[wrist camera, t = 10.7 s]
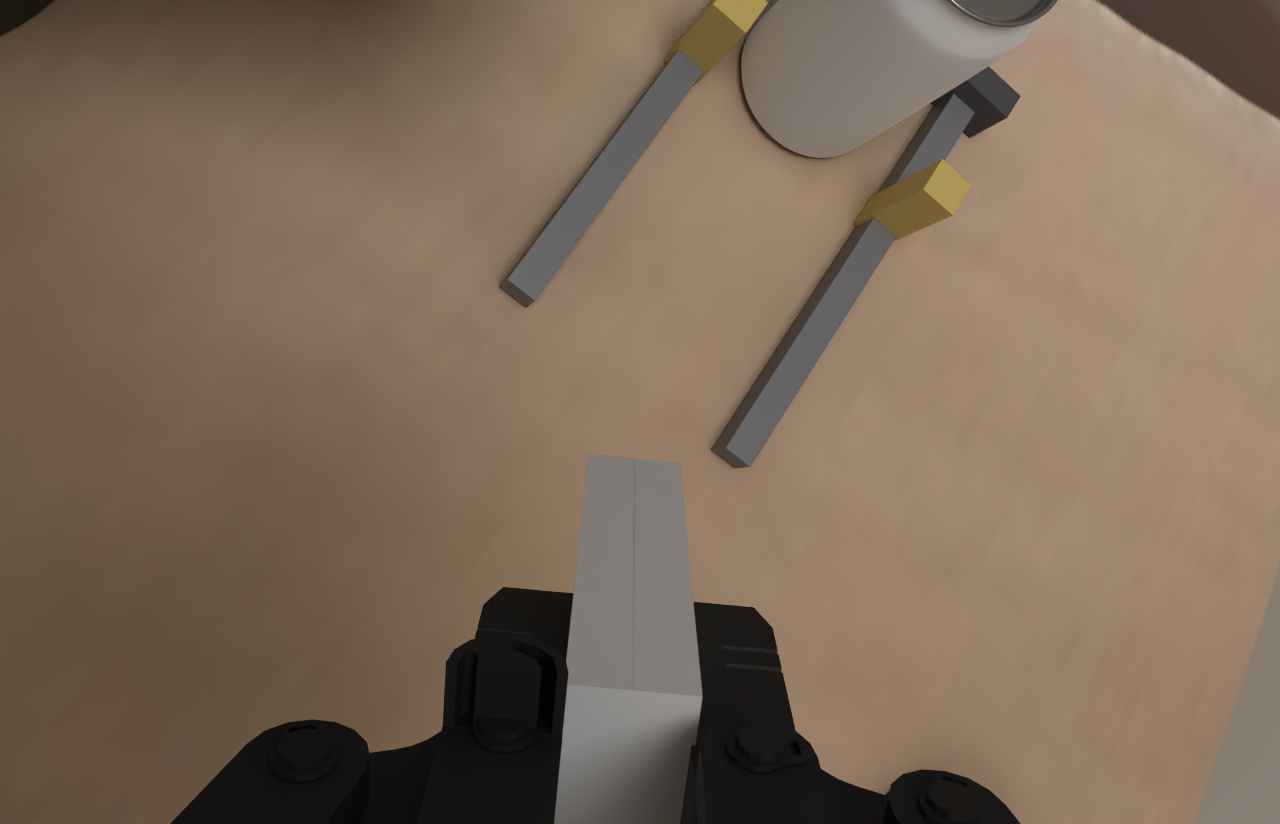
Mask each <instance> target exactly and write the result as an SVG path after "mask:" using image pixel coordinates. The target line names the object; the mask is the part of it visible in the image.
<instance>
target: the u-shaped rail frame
mask: <svg viewBox="0 0 1280 824" xmlns="http://www.w3.org/2000/svg"><path fill="white" fill-rule="evenodd" d="M767 4H768V2H767V1H766V0H713V1H712V2H711V3H710V4H709V5H708V6H707V8H706V9H705V10H704V11H703V12H702V13H701V15H700V16H699V17H698V18H697V19H696V20H695V22H694V23H693V24H692V25H691V26H690V27H689V28H688V30H687V31H686V32H685V33H684V34H683V36H682V37H681V38H680V40H679V41H678V42H677V44H676V45H675V46H674V48H673V49H672V50H671V52H670V53H669V54H668V56H667V57H666V58H665V60H664V62H665V63H666V65H665V66H664V68H663V69H662V70H661V72H660V73H659V74H658V76H657V77H656V78H655V80H654V81H653V82H652V84H651V85H650V86H649V88H648V89H647V90H646V92H645V93H644V94H643V96H642V97H641V98H640V100H639V101H638V102H637V104H636V105H635V106H634V108H633V109H632V111H631V112H630V113H629V115H628V116H627V117H626V119H625V120H624V121H623V123H622V124H621V125H620V127H619V128H618V129H617V131H616V132H615V133H614V135H613V136H612V137H611V139H610V140H609V141H608V143H607V144H606V145H605V147H604V148H603V149H602V151H601V152H600V153H599V155H598V156H597V157H596V159H595V160H594V161H593V163H592V164H591V165H590V167H589V168H588V169H587V171H586V172H585V173H584V175H583V176H582V178H581V179H580V180H579V182H578V183H577V184H576V186H575V187H574V188H573V190H572V191H571V192H570V194H569V195H568V196H567V198H566V199H565V200H564V202H563V203H562V204H561V206H560V207H559V208H558V210H557V211H556V212H555V214H554V215H553V216H552V218H551V219H550V220H549V222H548V223H547V224H546V226H545V227H544V228H543V230H542V231H541V232H540V234H539V235H538V236H537V238H536V239H535V240H534V242H533V243H532V244H531V246H530V247H529V249H528V250H527V251H526V253H525V254H524V255H523V257H522V258H521V259H520V261H519V262H518V263H517V265H516V266H515V267H514V269H513V270H512V271H511V273H510V274H509V275H508V277H507V278H506V279H505V281H504V282H503V283H502V285H501V286H500V288H501V289H502V290H504V291H505V292H506V293H508V294H509V295H510V296H511V297H513V298H514V299H515V300H517V301H518V302H519V303H521V304H522V305H523V306H524V307H528V306H529V305H530V304H531V303H533V302H534V301H535V300H536V299H537V297H538V296H539V294H540V293H541V292H542V290H543V289H544V288H545V286H546V285H547V284H548V282H549V281H550V279H551V278H552V277H553V275H554V274H555V273H556V271H557V270H558V269H559V267H560V266H561V264H562V263H563V262H564V260H565V259H566V258H567V256H568V255H569V254H570V252H571V251H572V249H573V248H574V247H575V245H576V244H577V243H578V241H579V240H580V238H581V237H582V236H583V234H584V233H585V232H586V230H587V229H588V228H589V226H590V225H591V223H592V222H593V221H594V219H595V218H596V217H597V215H598V214H599V213H600V211H601V210H602V208H603V207H604V206H605V204H606V203H607V202H608V200H609V199H610V198H611V196H612V195H613V193H614V192H615V191H616V189H617V188H618V187H619V185H620V184H621V183H622V181H623V180H624V178H625V177H626V176H627V174H628V173H629V172H630V170H631V169H632V167H633V166H634V165H635V163H636V162H637V161H638V159H639V158H640V157H641V155H642V154H643V152H644V151H645V150H646V148H647V147H648V146H649V144H650V143H651V142H652V140H653V139H654V137H655V136H656V135H657V133H658V132H659V131H660V129H661V128H662V127H663V125H664V124H665V122H666V121H667V120H668V118H669V117H670V116H671V114H672V113H673V112H674V110H675V109H676V107H677V106H678V105H679V103H680V102H681V101H682V99H683V98H684V96H685V95H686V94H687V92H688V91H689V90H690V88H691V87H692V86H694V85H695V84H696V83H697V82H698V81H699V80H700V79H701V78H702V77H703V76H704V75H705V74H706V73H707V72H708V71H709V70H710V69H711V68H712V67H713V66H714V65H715V64H716V63H717V62H718V61H719V60H720V59H721V58H722V57H723V56H724V55H725V54H726V53H727V52H728V51H729V50H730V49H731V48H732V47H733V46H734V45H735V44H736V43H737V42H738V41H739V40H740V39H741V38H742V37H743V36H744V35H745V34H746V33H747V31H748V30H749V29H750V27H751V26H752V24H753V23H754V22H755V20H756V19H757V18H758V16H759V15H760V13H761V12H762V11H763V9H764V8H765V7H766V5H767ZM1019 98H1020V95H1019V94H1018V93H1017V92H1015V91H1014V90H1013V89H1012V88H1011V87H1010V86H1009V85H1008V84H1007V83H1006V82H1005V81H1004V80H1003V79H1002V78H1000V77H999V76H998V75H997V74H996V73H995V72H994V71H993V70H992V69H991V68H990V67H989V66H988V67H987V68H985V69H984V70H982V71H980V72H979V73H977V74H976V75H974V76H972V77H971V78H969V79H968V80H966V81H964V82H963V83H961V84H960V85H958V86H957V87H955V88H953V89H952V90H950V91H949V92H947V93H945V94H944V95H942V96H941V97H939V98H937V99H936V100H934V101H933V102H931V103H932V104H933V105H934V107H933V108H932V110H931V112H930V113H929V115H928V116H927V118H926V119H925V121H924V122H923V124H922V125H921V127H920V129H919V130H918V132H917V133H916V135H915V136H914V138H913V139H912V141H911V142H910V144H909V145H908V147H907V149H906V150H905V152H904V153H903V155H902V156H901V158H900V159H899V161H898V162H897V164H896V166H895V167H894V169H893V170H892V172H891V173H890V175H889V176H888V178H887V179H886V181H885V183H884V184H883V186H882V187H881V189H880V190H879V192H878V193H877V194H875V195H873V196H871V198H870V199H869V201H868V202H867V204H866V205H865V207H864V208H863V210H862V212H861V213H860V215H859V216H858V218H857V219H856V221H855V222H854V225H855V226H856V227H855V229H854V230H853V232H852V233H851V235H850V237H849V238H848V240H847V241H846V243H845V244H844V246H843V247H842V249H841V250H840V252H839V254H838V255H837V257H836V258H835V260H834V261H833V263H832V264H831V266H830V267H829V269H828V270H827V272H826V274H825V275H824V277H823V278H822V280H821V281H820V283H819V284H818V286H817V287H816V289H815V291H814V292H813V294H812V295H811V297H810V298H809V300H808V301H807V303H806V304H805V306H804V308H803V309H802V311H801V312H800V314H799V315H798V317H797V318H796V320H795V321H794V323H793V324H792V326H791V328H790V329H789V331H788V332H787V334H786V335H785V337H784V338H783V340H782V341H781V343H780V345H779V346H778V348H777V349H776V351H775V352H774V354H773V355H772V357H771V358H770V360H769V362H768V363H767V365H766V366H765V368H764V369H763V371H762V372H761V374H760V375H759V377H758V378H757V380H756V382H755V383H754V385H753V386H752V388H751V389H750V391H749V392H748V394H747V395H746V397H745V399H744V400H743V402H742V403H741V405H740V406H739V408H738V409H737V411H736V412H735V414H734V416H733V417H732V419H731V420H730V422H729V423H728V425H727V426H726V428H725V429H724V431H723V433H722V434H721V436H720V437H719V439H718V440H717V442H716V443H715V445H714V446H713V448H712V449H711V450H712V451H713V452H714V453H716V454H717V455H718V456H720V457H721V458H722V459H724V460H725V461H726V462H727V463H729V464H730V465H731V466H733V467H734V468H744V467H751V465H752V464H753V462H754V460H755V459H756V457H757V456H758V454H759V453H760V451H761V449H762V448H763V446H764V445H765V443H766V442H767V440H768V438H769V437H770V435H771V434H772V432H773V430H774V429H775V427H776V426H777V424H778V423H779V421H780V419H781V418H782V416H783V415H784V413H785V412H786V410H787V408H788V407H789V405H790V404H791V402H792V400H793V399H794V397H795V396H796V394H797V393H798V391H799V389H800V388H801V386H802V385H803V383H804V382H805V380H806V378H807V377H808V375H809V374H810V372H811V370H812V369H813V367H814V366H815V364H816V363H817V361H818V359H819V358H820V356H821V355H822V353H823V352H824V350H825V348H826V347H827V345H828V344H829V342H830V340H831V339H832V337H833V336H834V334H835V333H836V331H837V329H838V328H839V326H840V325H841V323H842V322H843V320H844V318H845V317H846V315H847V314H848V312H849V310H850V309H851V307H852V306H853V304H854V303H855V301H856V299H857V298H858V296H859V295H860V293H861V292H862V290H863V288H864V287H865V285H866V284H867V282H868V280H869V279H870V277H871V276H872V274H873V273H874V271H875V269H876V268H877V266H878V265H879V263H880V261H881V260H882V258H883V257H884V255H885V254H886V252H887V250H888V249H889V247H890V246H891V244H892V243H893V241H895V240H898V239H900V238H902V237H904V236H907V235H909V234H911V233H914V232H916V231H918V230H920V229H923V228H925V227H927V226H930V225H932V224H934V223H936V222H939V221H941V220H943V219H946V218H948V217H950V216H952V215H953V214H954V213H955V211H956V209H957V208H958V206H959V205H960V203H961V201H962V200H963V198H964V196H965V195H966V193H967V192H968V190H969V188H970V187H971V184H970V183H969V182H968V181H967V180H966V179H965V178H964V177H962V176H961V175H960V174H959V173H958V172H957V171H956V170H955V169H954V168H952V167H951V166H950V165H949V164H948V163H947V162H946V161H945V159H946V157H947V156H948V154H949V153H950V151H951V149H952V148H953V146H954V145H955V143H956V141H957V140H958V138H959V137H960V135H961V134H962V132H964V133H965V134H966V135H967V136H968V137H969V138H970V137H972V136H974V135H976V134H978V133H980V132H981V131H983V130H985V129H987V128H989V127H991V126H993V125H994V124H996V123H998V122H1000V121H1002V120H1004V119H1006V118H1007V117H1008V116H1009V114H1010V112H1011V111H1012V109H1013V108H1014V106H1015V104H1016V103H1017V101H1018V99H1019Z"/></svg>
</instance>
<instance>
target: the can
mask: <svg viewBox="0 0 1280 824" xmlns="http://www.w3.org/2000/svg"><path fill="white" fill-rule="evenodd" d="M1056 2H1057V0H778V1H777V2H776V3H775V4H774V5H773V6H772V7H771V8H770V9H769V10H768V11H767V12H766V13H765V15H764V16H763V17H762V18H761V19H760V20H759V21H758V22H757V24H756V25H755V26H754V28H753V29H752V30H751V32H750V34H749V35H748V37H747V39H746V41H745V44H744V47H743V51H742V59H741V74H742V83H743V88H744V93H745V96H746V99H747V102H748V105H749V107H750V109H751V111H752V113H753V115H754V116H755V118H756V119H757V121H758V122H759V124H760V125H761V126H762V127H763V129H764V130H765V131H766V132H767V133H768V134H769V135H770V136H771V137H772V138H773V139H775V140H776V141H777V142H778V143H780V144H781V145H783V146H784V147H786V148H788V149H789V150H791V151H794V152H796V153H798V154H801V155H805V156H809V157H815V158H830V157H836V156H840V155H843V154H846V153H848V152H850V151H852V150H854V149H856V148H858V147H859V146H861V145H863V144H864V143H866V142H868V141H869V140H871V139H873V138H874V137H876V136H878V135H879V134H881V133H882V132H884V131H886V130H887V129H889V128H891V127H892V126H894V125H895V124H897V123H899V122H900V121H902V120H904V119H905V118H907V117H908V116H910V115H912V114H913V113H915V112H916V111H918V110H920V109H921V108H923V107H924V106H926V105H928V104H929V103H931V102H933V101H934V100H936V99H937V98H939V97H941V96H942V95H944V94H945V93H947V92H949V91H950V90H952V89H953V88H955V87H957V86H958V85H960V84H961V83H963V82H964V81H966V80H968V79H969V78H971V77H972V76H974V75H976V74H977V73H979V72H980V71H982V70H984V69H985V68H987V67H988V66H990V65H991V64H993V63H994V62H996V61H998V60H999V59H1001V58H1002V57H1004V56H1005V55H1007V54H1008V53H1009V52H1011V51H1012V50H1014V49H1015V48H1016V47H1017V46H1019V45H1020V44H1021V43H1022V42H1023V41H1024V40H1025V39H1026V38H1027V37H1028V36H1029V35H1030V34H1031V32H1032V31H1033V30H1034V28H1035V27H1036V25H1037V23H1038V22H1039V20H1040V18H1041V17H1042V16H1043V15H1044V14H1046V13H1047V12H1048V11H1049V10H1050V9H1051V8H1052V7H1053V6H1054V4H1055V3H1056Z"/></svg>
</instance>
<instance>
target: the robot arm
mask: <svg viewBox="0 0 1280 824" xmlns="http://www.w3.org/2000/svg"><path fill="white" fill-rule="evenodd" d="M51 1H53V0H0V34H2V33H4V32H6V31H8V30H10V29H12V28H13V27H15V26H17V25H19V24H20V23H22V22H24V21H26V20H27V19H28V18H30V17H31V16H33V15H34V14H36V13H37V12H39V11H40V10H41V9H43V8H44V7H45V6H46V5H48V4H49V3H50V2H51ZM171 824H1020V822H1019V821H1018V820H1017V819H1016V817H1015V816H1014V815H1013V814H1012V812H1011V811H1010V810H1009V809H1008V807H1007V806H1006V805H1005V804H1004V803H1003V802H1002V801H1001V800H1000V799H998V798H997V797H996V796H995V795H994V794H993V793H992V792H991V791H990V790H988V789H987V788H985V787H983V786H981V785H979V784H978V783H976V782H974V781H972V780H970V779H969V778H966V777H963V776H959V775H957V774H953V773H949V772H946V771H936V770H918V771H914V772H910V773H906V774H903V775H902V776H900V777H899V778H898V779H897V780H896V781H894V782H893V783H892V784H891V788H890V792H889V796H886V795H883V794H880V793H877V792H873V791H870V790H867V789H864V788H860V787H857V786H854V785H852V784H849V783H847V782H844V781H842V780H839V779H837V778H835V777H834V776H832V775H830V774H828V773H827V772H825V771H823V770H822V769H821V768H820V765H819V761H818V757H817V755H816V753H815V752H814V750H813V748H812V746H811V744H810V743H809V742H808V741H807V740H806V739H804V738H803V737H802V736H801V735H800V734H799V733H797V732H796V731H795V726H794V722H793V717H792V713H791V708H790V704H789V699H788V695H787V690H786V686H785V681H784V677H783V673H781V664H780V659H779V655H778V654H777V646H776V641H775V637H774V632H773V628H772V627H771V626H770V625H769V624H768V623H767V621H766V620H765V619H764V618H763V617H762V616H761V615H760V614H759V613H758V612H757V611H756V609H755V608H754V607H743V606H733V605H722V604H711V603H700V602H693V593H692V583H691V572H690V562H689V552H688V542H687V531H686V521H685V511H684V501H683V490H682V480H681V470H680V463H677V462H667V461H656V460H646V459H636V458H625V457H615V456H605V455H594V454H589V458H588V467H587V476H586V485H585V495H584V504H583V513H582V522H581V531H580V540H579V549H578V558H577V567H576V576H575V585H574V594H573V593H563V592H552V591H541V590H530V589H519V588H508V587H503V588H502V589H501V590H499V591H498V592H497V593H496V594H495V595H494V596H493V597H491V598H490V599H489V600H488V601H487V602H486V603H485V604H484V605H483V609H482V612H481V616H480V620H479V624H478V630H477V631H476V635H475V639H472V640H469V641H468V642H466V643H464V644H463V645H461V646H459V647H458V648H456V649H454V651H453V652H452V654H451V655H450V657H449V658H448V660H447V661H446V675H445V694H444V713H443V727H442V731H441V732H439V733H438V734H436V735H434V736H433V737H431V738H430V739H428V740H426V741H423V742H420V743H418V744H415V745H413V746H409V747H404V748H399V749H395V750H388V751H380V752H373V753H369V750H368V745H367V742H366V741H365V740H364V739H363V738H362V737H361V736H360V735H359V734H358V733H357V732H356V731H355V730H353V729H351V728H348V727H346V726H344V725H341V724H339V723H336V722H330V721H321V720H304V721H296V722H288V723H285V724H282V725H279V726H277V727H274V728H271V729H269V730H266V731H264V732H263V733H261V734H260V735H258V736H257V737H256V738H254V739H253V740H252V741H250V742H249V743H247V744H246V745H245V746H244V747H243V749H242V750H241V751H240V752H239V753H238V754H237V755H236V756H235V757H234V758H233V759H232V760H231V761H230V762H229V763H228V764H227V765H226V766H225V767H224V768H223V769H222V770H221V771H220V772H219V774H218V775H217V776H216V777H215V778H214V779H213V780H212V781H211V782H210V783H209V784H208V785H207V786H206V787H205V788H204V789H203V790H202V791H201V792H200V793H199V794H198V795H197V796H196V797H195V799H194V800H193V801H192V802H191V803H190V804H189V805H188V806H187V807H186V808H185V809H184V810H183V811H182V812H181V813H180V814H179V815H178V816H177V817H176V818H175V819H174V820H173V821H172V822H171Z"/></svg>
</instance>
